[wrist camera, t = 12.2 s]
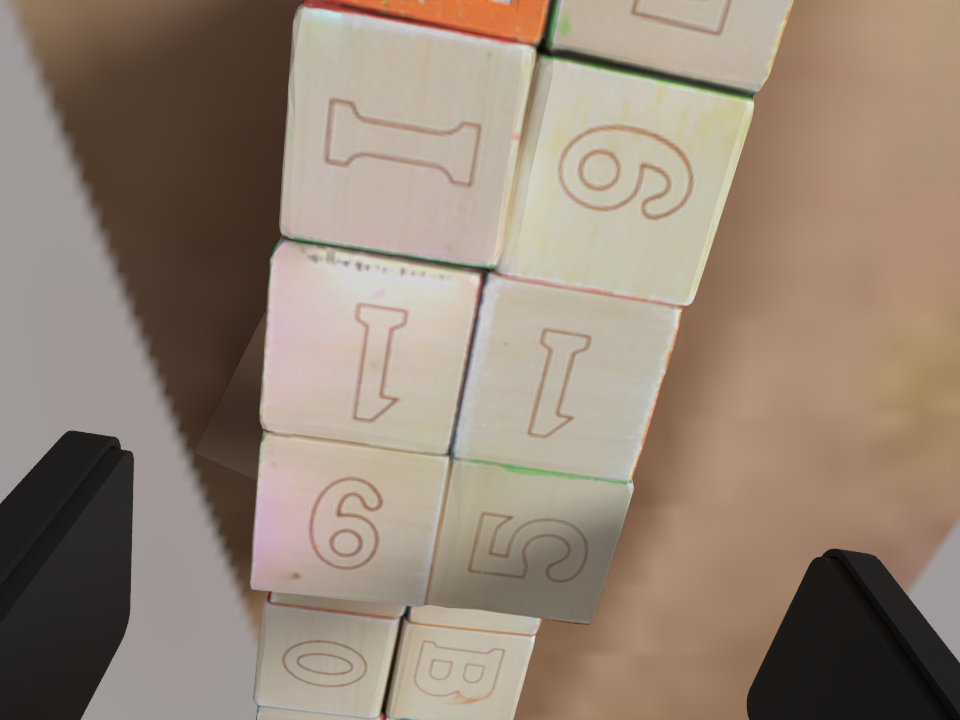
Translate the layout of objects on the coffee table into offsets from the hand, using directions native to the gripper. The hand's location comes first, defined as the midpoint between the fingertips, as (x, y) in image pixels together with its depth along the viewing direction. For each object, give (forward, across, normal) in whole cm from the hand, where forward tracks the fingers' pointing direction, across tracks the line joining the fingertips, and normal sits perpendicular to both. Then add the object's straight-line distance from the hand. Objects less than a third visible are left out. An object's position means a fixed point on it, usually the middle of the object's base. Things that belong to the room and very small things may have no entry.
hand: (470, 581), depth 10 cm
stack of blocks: (+14, 0, +1) cm, 14 cm away
